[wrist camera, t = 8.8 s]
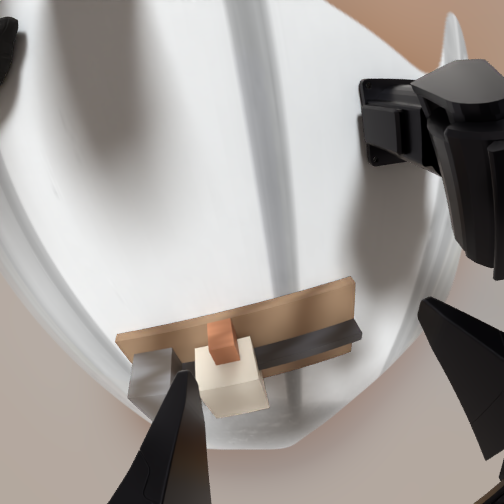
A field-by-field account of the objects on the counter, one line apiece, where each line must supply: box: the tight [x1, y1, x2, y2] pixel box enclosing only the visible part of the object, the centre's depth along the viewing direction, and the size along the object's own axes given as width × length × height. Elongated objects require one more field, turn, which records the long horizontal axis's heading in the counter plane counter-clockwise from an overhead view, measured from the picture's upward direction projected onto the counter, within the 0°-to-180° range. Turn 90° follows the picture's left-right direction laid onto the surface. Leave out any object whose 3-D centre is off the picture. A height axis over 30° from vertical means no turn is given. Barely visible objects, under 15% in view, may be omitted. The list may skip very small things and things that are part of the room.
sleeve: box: [195, 336, 270, 418], centre depth 23 cm, size 5×5×5 cm
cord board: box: [115, 276, 362, 421], centre depth 24 cm, size 22×10×6 cm, turn 102°
